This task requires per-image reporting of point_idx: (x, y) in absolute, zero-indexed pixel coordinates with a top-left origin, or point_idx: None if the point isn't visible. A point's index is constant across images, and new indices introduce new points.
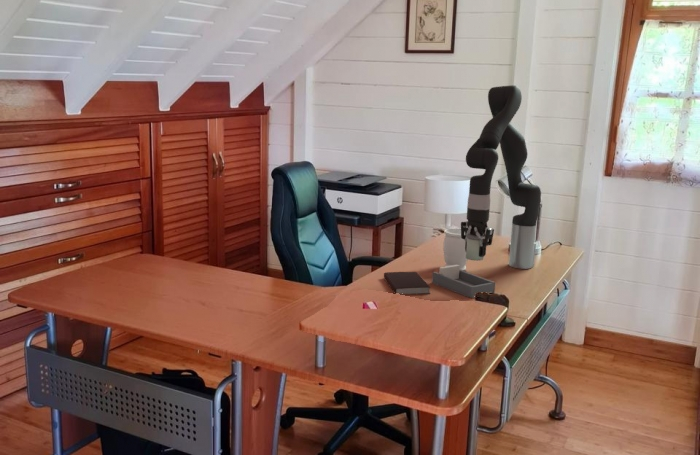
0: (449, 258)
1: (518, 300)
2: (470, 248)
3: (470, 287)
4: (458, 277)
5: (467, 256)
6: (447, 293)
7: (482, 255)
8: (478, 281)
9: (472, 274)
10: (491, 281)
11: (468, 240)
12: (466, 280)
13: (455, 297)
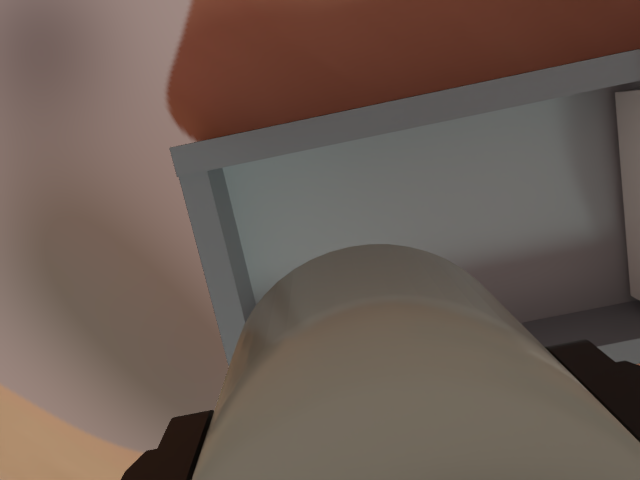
0: None
1: (63, 456)
2: (319, 337)
3: (188, 144)
4: (635, 293)
5: (379, 255)
6: (370, 13)
7: (143, 459)
8: None
9: None
10: None
11: (486, 443)
12: (549, 322)
13: (251, 23)
